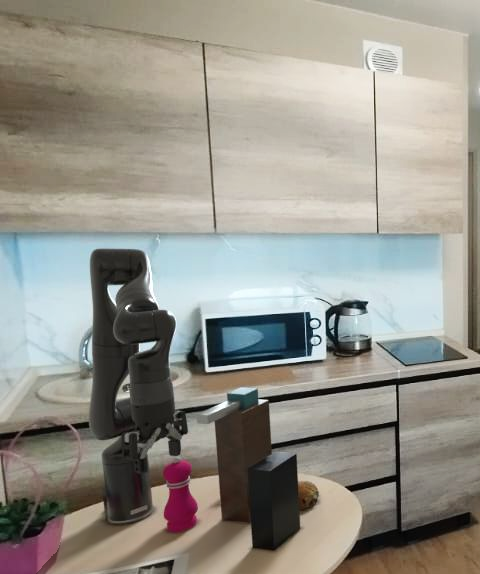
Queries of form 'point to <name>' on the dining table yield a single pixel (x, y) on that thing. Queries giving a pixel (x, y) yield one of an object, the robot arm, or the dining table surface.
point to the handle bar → (230, 405)
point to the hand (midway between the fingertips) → (158, 464)
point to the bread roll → (307, 494)
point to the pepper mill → (179, 497)
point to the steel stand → (274, 500)
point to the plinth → (240, 456)
